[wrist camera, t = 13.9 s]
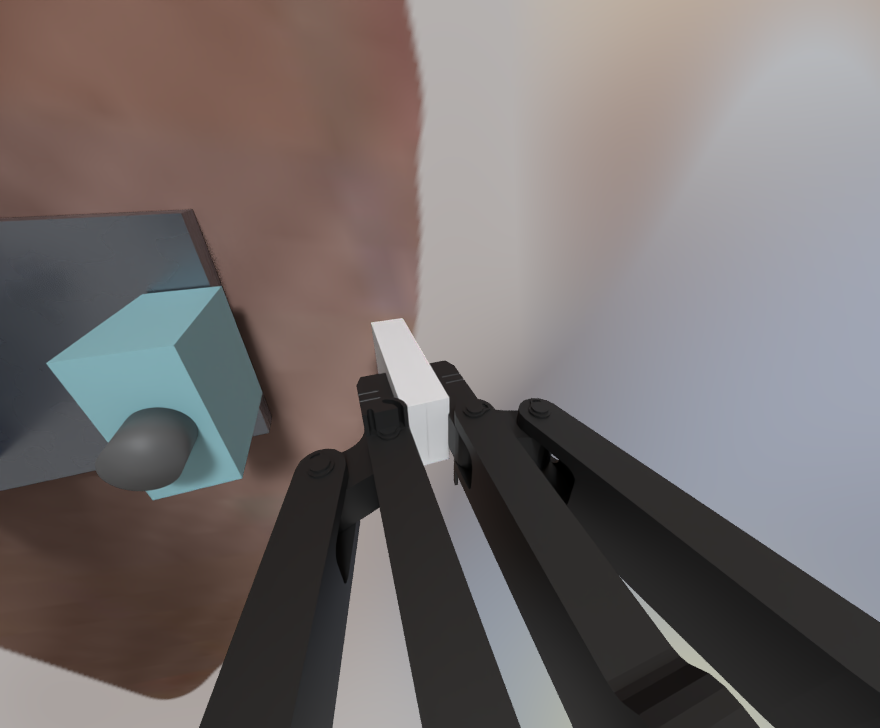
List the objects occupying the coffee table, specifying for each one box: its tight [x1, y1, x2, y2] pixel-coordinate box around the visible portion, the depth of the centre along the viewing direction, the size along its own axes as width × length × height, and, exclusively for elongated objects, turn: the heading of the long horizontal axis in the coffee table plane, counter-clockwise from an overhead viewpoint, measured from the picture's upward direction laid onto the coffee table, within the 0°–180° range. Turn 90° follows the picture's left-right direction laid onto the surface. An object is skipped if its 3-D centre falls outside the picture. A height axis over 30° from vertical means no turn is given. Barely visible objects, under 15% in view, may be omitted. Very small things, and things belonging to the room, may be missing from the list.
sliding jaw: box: [46, 286, 262, 500], centre depth 12 cm, size 6×3×8 cm, turn 1°
